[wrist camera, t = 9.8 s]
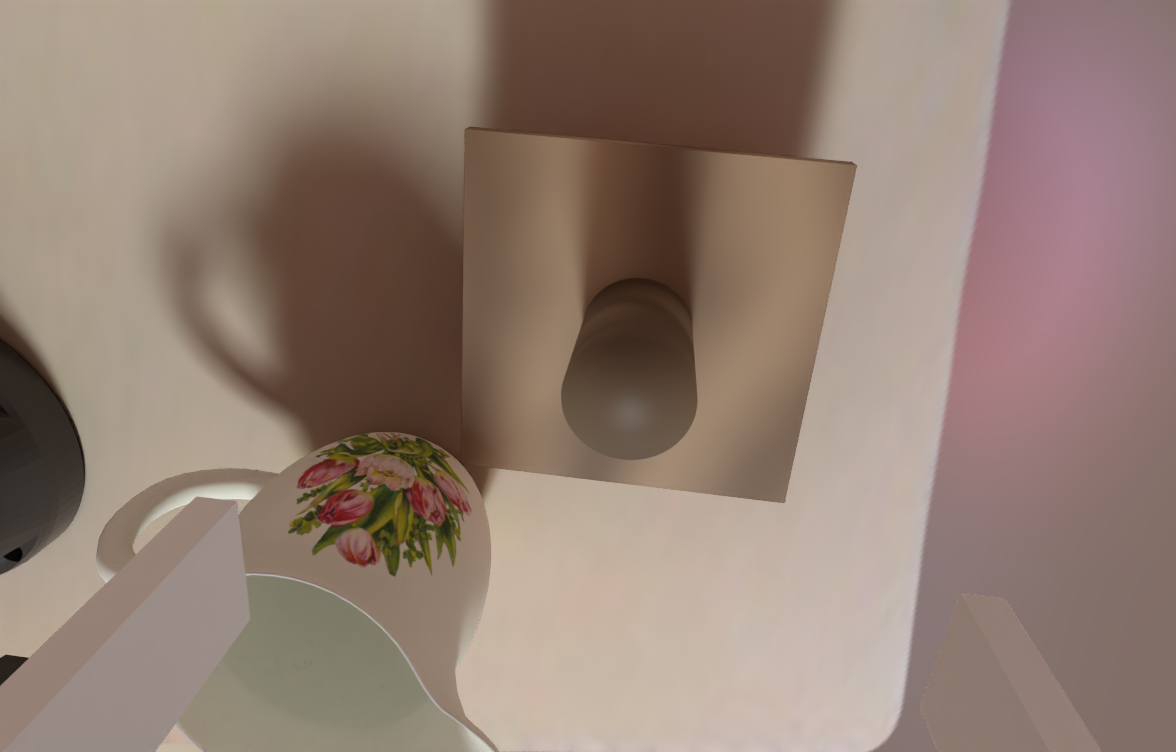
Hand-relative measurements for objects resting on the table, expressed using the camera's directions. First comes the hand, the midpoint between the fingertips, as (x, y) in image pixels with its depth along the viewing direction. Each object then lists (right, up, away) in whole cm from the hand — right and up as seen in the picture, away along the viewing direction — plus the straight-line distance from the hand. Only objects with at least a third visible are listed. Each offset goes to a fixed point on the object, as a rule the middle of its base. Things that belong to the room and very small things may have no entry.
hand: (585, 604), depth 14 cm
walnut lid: (+2, +6, +14) cm, 16 cm away
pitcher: (-10, -1, +25) cm, 27 cm away
